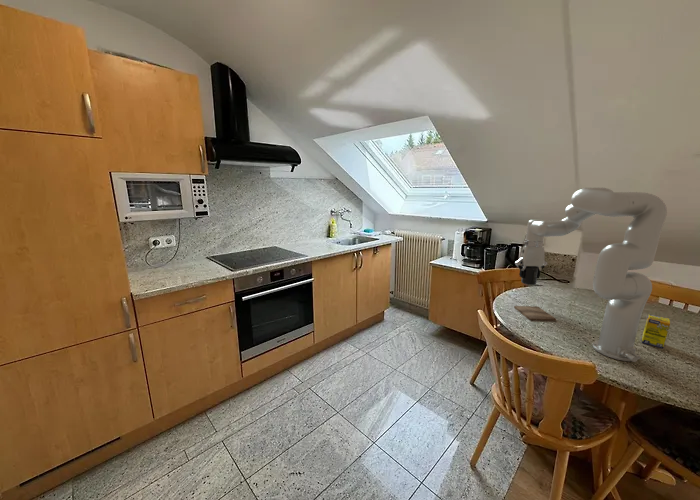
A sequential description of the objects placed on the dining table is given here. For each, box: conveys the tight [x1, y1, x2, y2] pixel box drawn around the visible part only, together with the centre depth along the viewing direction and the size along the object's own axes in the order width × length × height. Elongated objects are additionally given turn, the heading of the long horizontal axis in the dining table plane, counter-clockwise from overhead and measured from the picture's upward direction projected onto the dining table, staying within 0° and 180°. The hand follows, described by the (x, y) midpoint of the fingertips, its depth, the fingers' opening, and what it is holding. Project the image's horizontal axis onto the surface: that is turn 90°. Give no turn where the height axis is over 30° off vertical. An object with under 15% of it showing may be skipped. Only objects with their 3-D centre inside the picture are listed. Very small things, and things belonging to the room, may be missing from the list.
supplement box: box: [641, 313, 671, 350], centre depth 112 cm, size 6×6×11 cm
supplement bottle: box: [520, 266, 538, 286], centre depth 146 cm, size 7×7×12 cm
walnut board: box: [513, 305, 557, 322], centre depth 139 cm, size 14×12×1 cm
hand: (529, 277), depth 147 cm, fingers closed on supplement bottle, 6 cm apart
